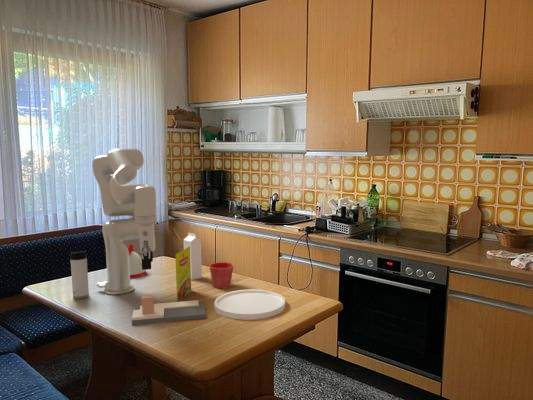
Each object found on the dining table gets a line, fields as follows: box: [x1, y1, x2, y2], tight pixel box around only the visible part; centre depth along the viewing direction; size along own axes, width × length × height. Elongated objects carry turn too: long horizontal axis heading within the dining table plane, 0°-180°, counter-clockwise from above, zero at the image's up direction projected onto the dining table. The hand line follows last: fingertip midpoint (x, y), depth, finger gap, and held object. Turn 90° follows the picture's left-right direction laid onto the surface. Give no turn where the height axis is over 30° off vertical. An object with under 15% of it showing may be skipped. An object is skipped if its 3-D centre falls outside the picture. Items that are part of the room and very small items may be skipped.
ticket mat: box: [131, 299, 207, 326], centre depth 160 cm, size 26×15×2 cm, turn 102°
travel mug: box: [69, 250, 90, 300], centre depth 180 cm, size 6×7×20 cm
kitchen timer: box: [127, 244, 147, 279], centre depth 213 cm, size 14×14×15 cm
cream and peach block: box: [131, 294, 164, 321], centre depth 155 cm, size 11×8×7 cm
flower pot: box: [208, 261, 234, 289], centre depth 193 cm, size 11×11×10 cm
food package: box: [175, 246, 192, 302], centre depth 179 cm, size 15×1×20 cm, turn 168°
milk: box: [183, 232, 203, 281], centre depth 205 cm, size 6×6×22 cm
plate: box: [213, 288, 286, 321], centre depth 168 cm, size 28×28×2 cm
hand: (147, 265), depth 157 cm, fingers open, 9 cm apart
